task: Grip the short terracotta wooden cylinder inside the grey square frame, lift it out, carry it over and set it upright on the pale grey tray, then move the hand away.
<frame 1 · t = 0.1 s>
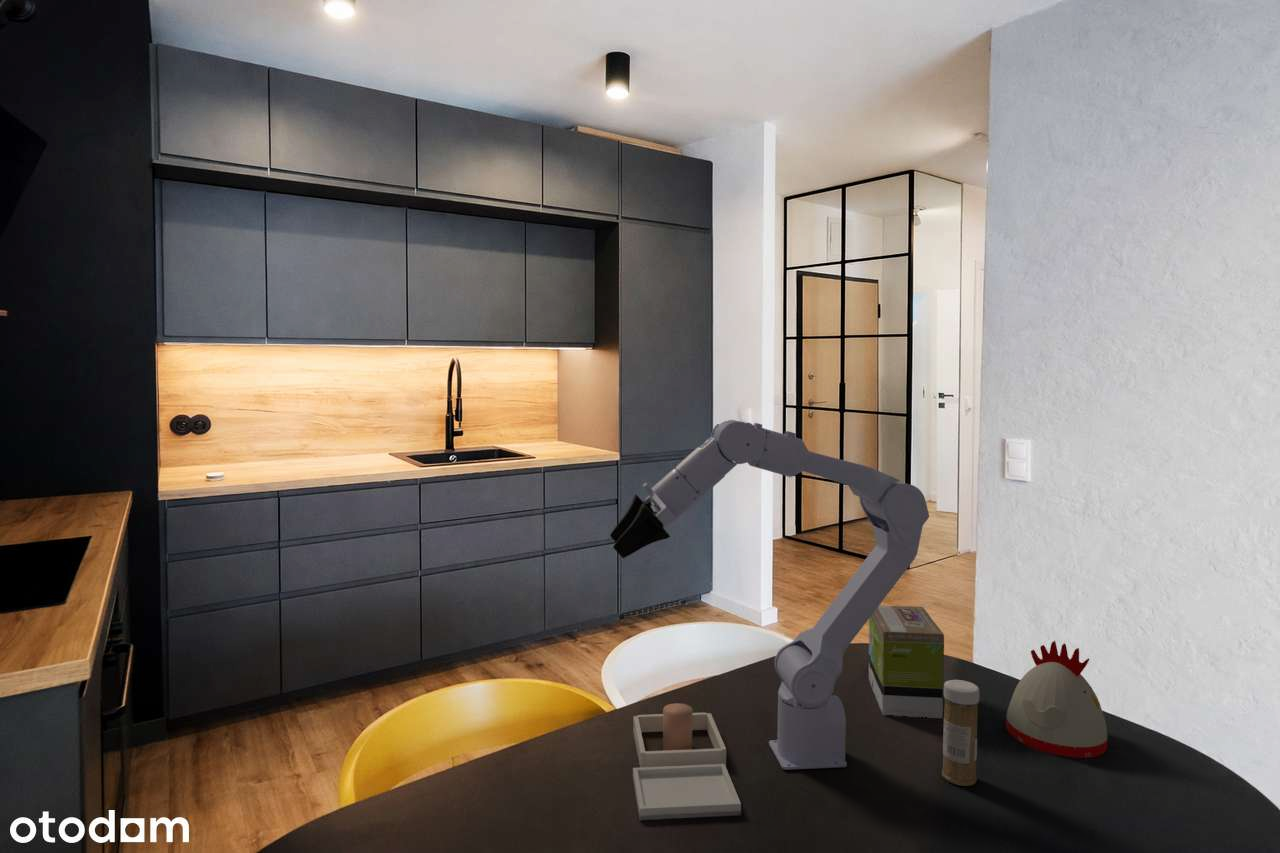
hand: (616, 546, 106), 32 cm above the table, tool tilted 50°, fingers open, 7 cm apart
grey square frame: (677, 748, 112), on the table
kitchen timer: (1055, 737, 117), on the table
terracotta cylinder: (677, 728, 112), in the grey square frame
sprinkles bottle: (958, 780, 104), on the table
tray: (684, 795, 99), on the table
tea box: (902, 700, 130), on the table
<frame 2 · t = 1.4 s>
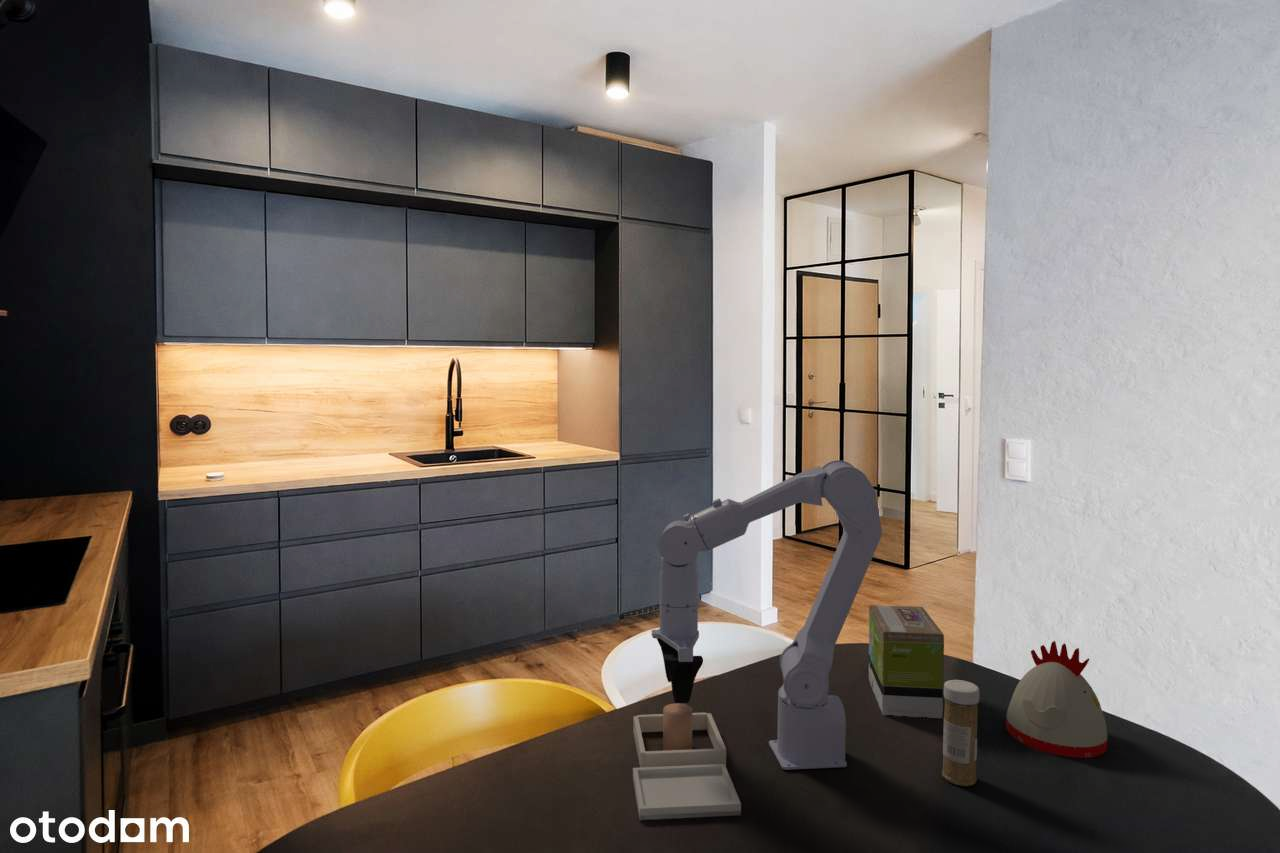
hand: (677, 691, 112), 9 cm above the table, tool pointing down, fingers open, 7 cm apart
nothing on the table moved.
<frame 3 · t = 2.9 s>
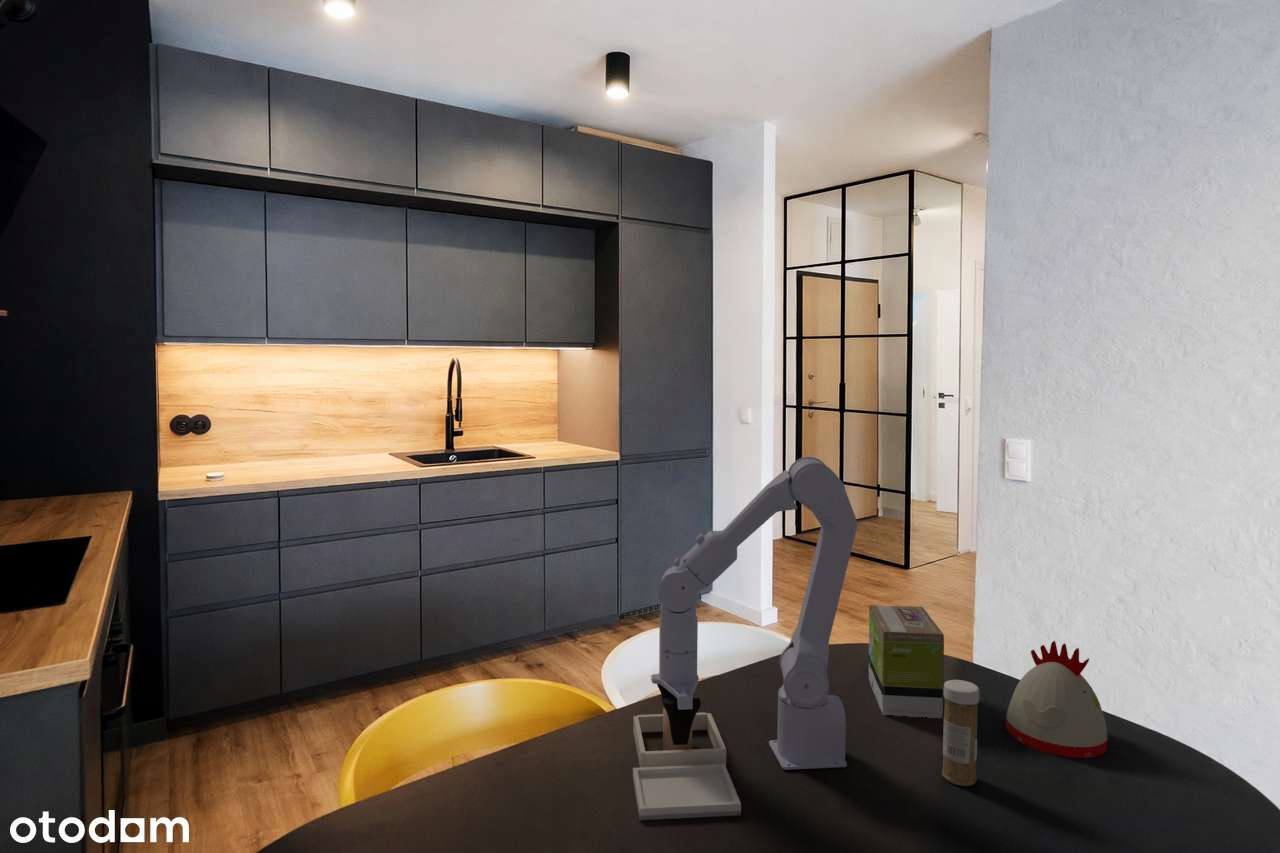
hand: (677, 735, 112), 2 cm above the table, tool pointing down, fingers closed on terracotta cylinder, 4 cm apart
terracotta cylinder: (677, 728, 112), in the grey square frame, touching gripper
everything else where it was.
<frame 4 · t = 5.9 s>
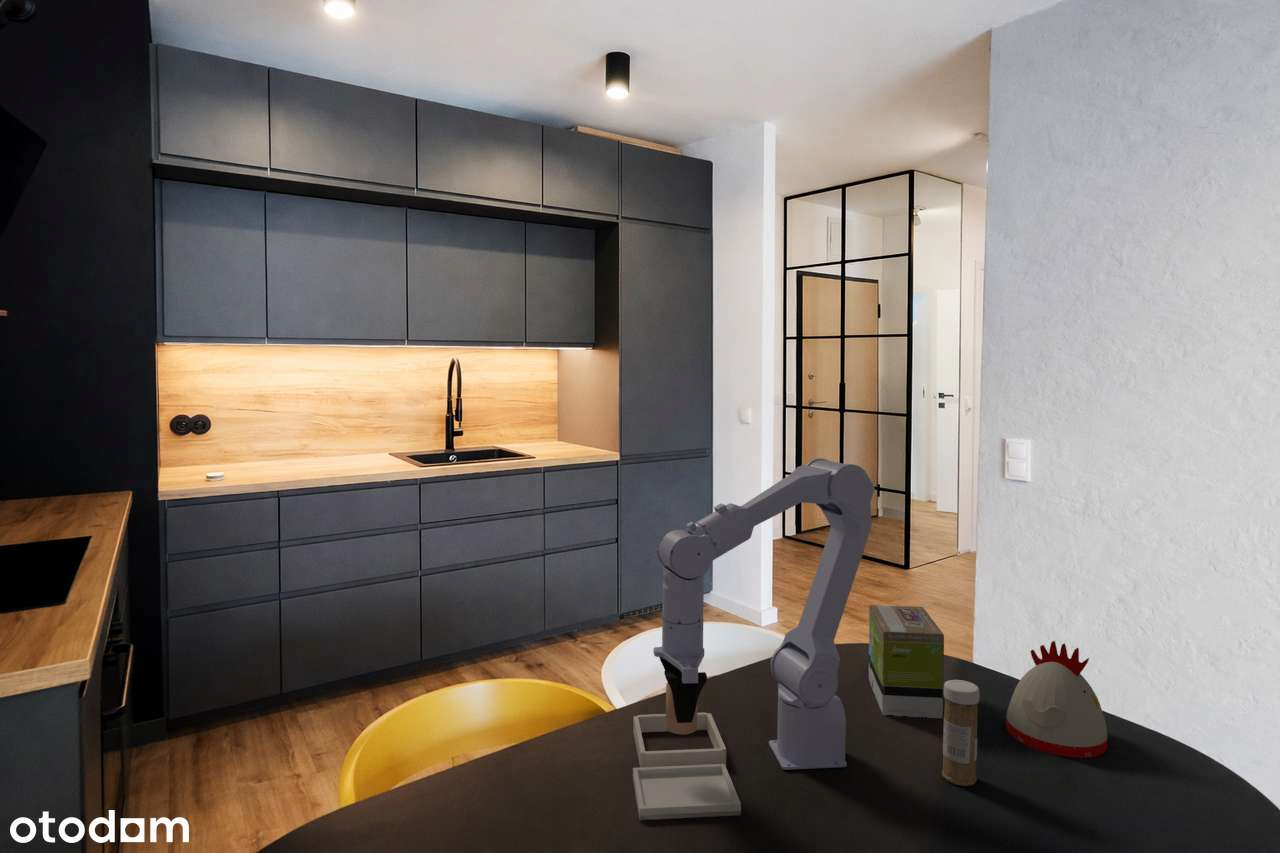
hand: (681, 713, 104), 9 cm above the table, tool pointing down, fingers closed on terracotta cylinder, 4 cm apart
terracotta cylinder: (681, 706, 104), point 10 cm above the table, touching gripper
everything else where it was.
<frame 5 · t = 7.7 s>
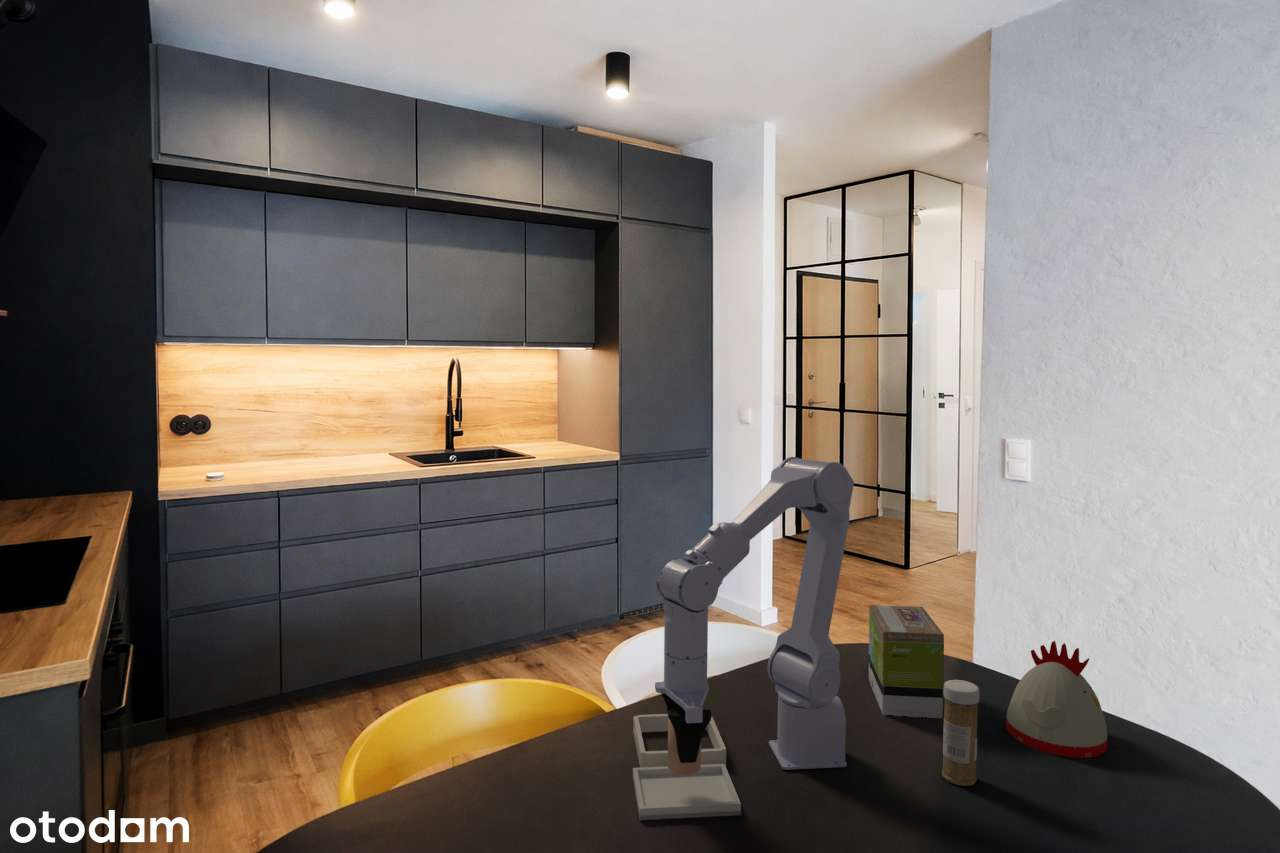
hand: (684, 751, 99), 6 cm above the table, tool pointing down, fingers closed on terracotta cylinder, 4 cm apart
terracotta cylinder: (684, 744, 99), point 7 cm above the table, touching gripper
everything else where it was.
when the fingers open (4 cm above the table, at t = 9.1 s): terracotta cylinder stays where it is, resting on tray.
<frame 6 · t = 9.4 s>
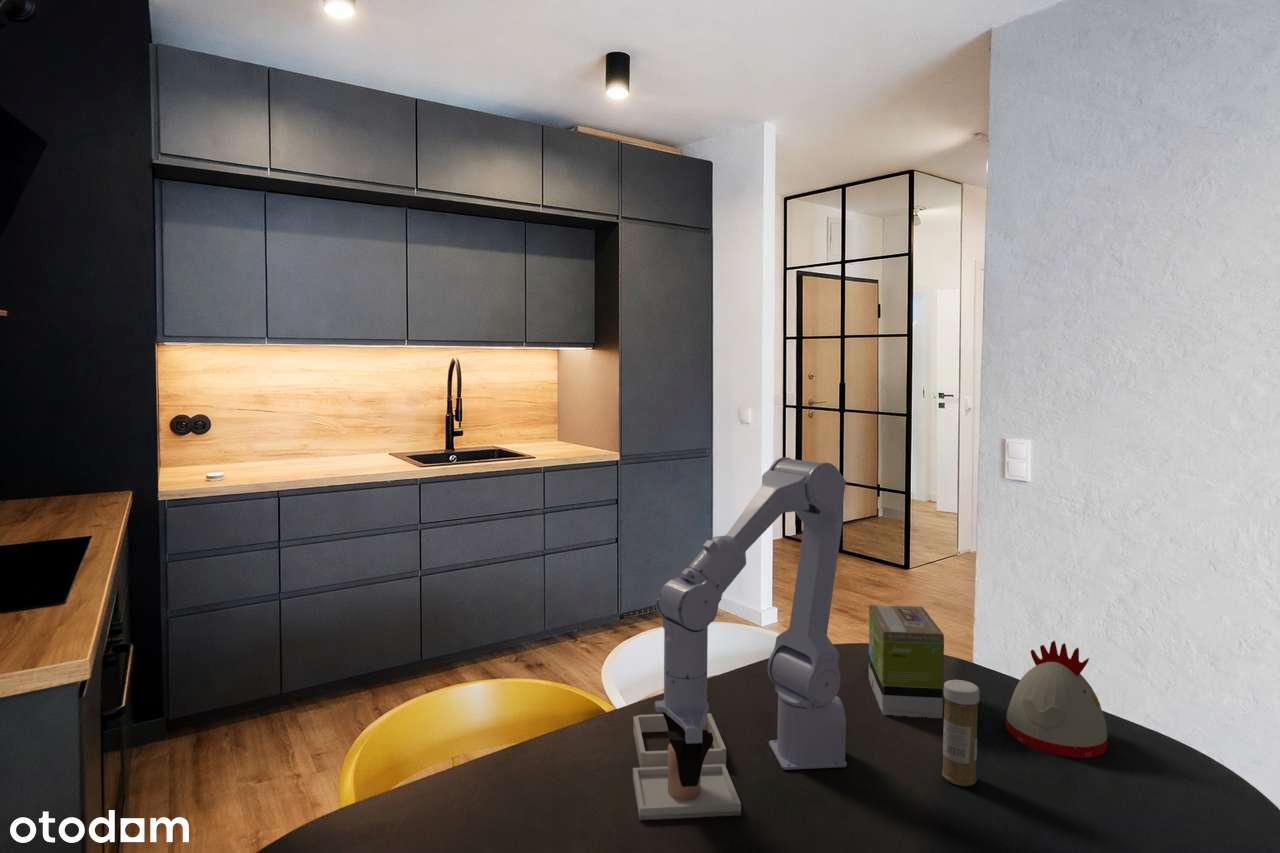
hand: (684, 770, 99), 4 cm above the table, tool pointing down, fingers open, 7 cm apart
terracotta cylinder: (684, 769, 99), point 4 cm above the table, touching tray
everything else where it was.
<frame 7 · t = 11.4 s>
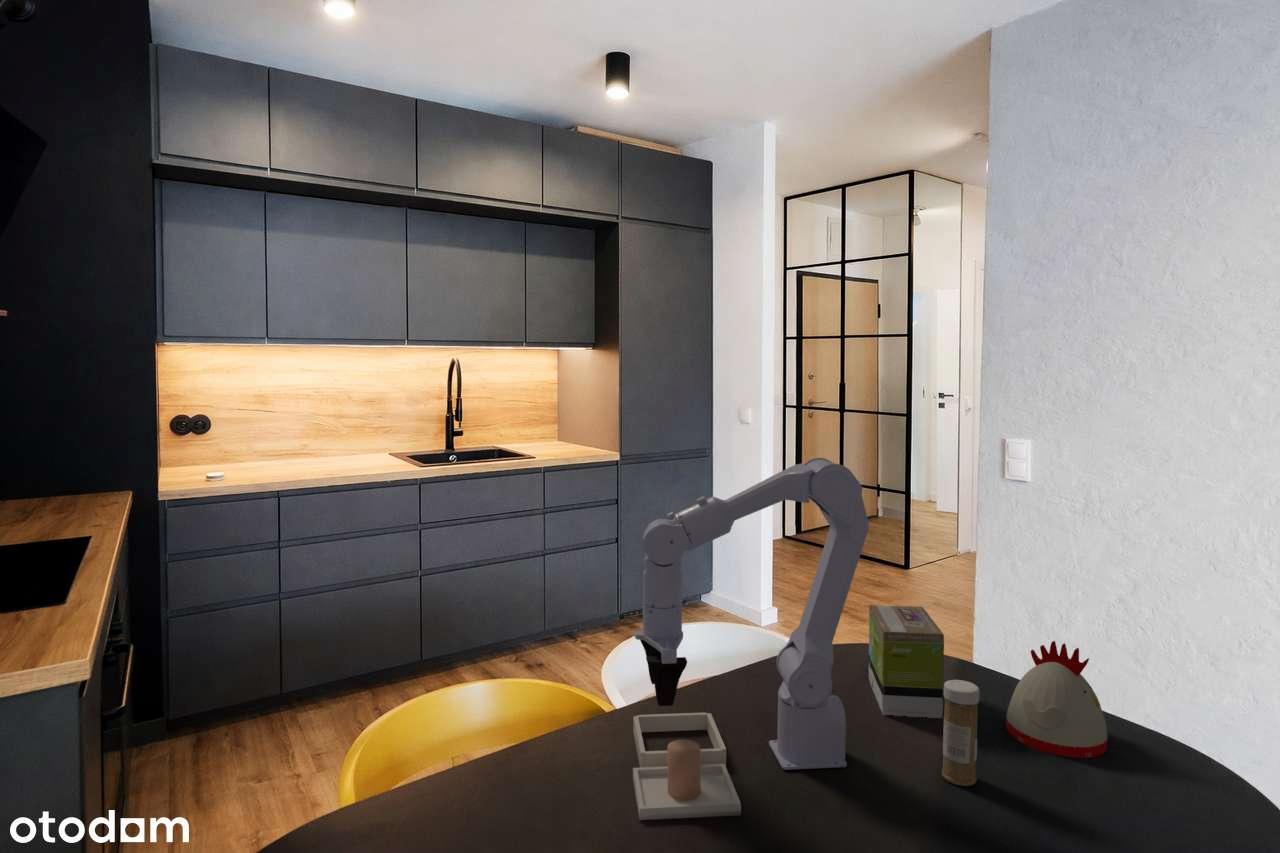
hand: (661, 693, 109), 9 cm above the table, tool pointing down, fingers open, 7 cm apart
nothing on the table moved.
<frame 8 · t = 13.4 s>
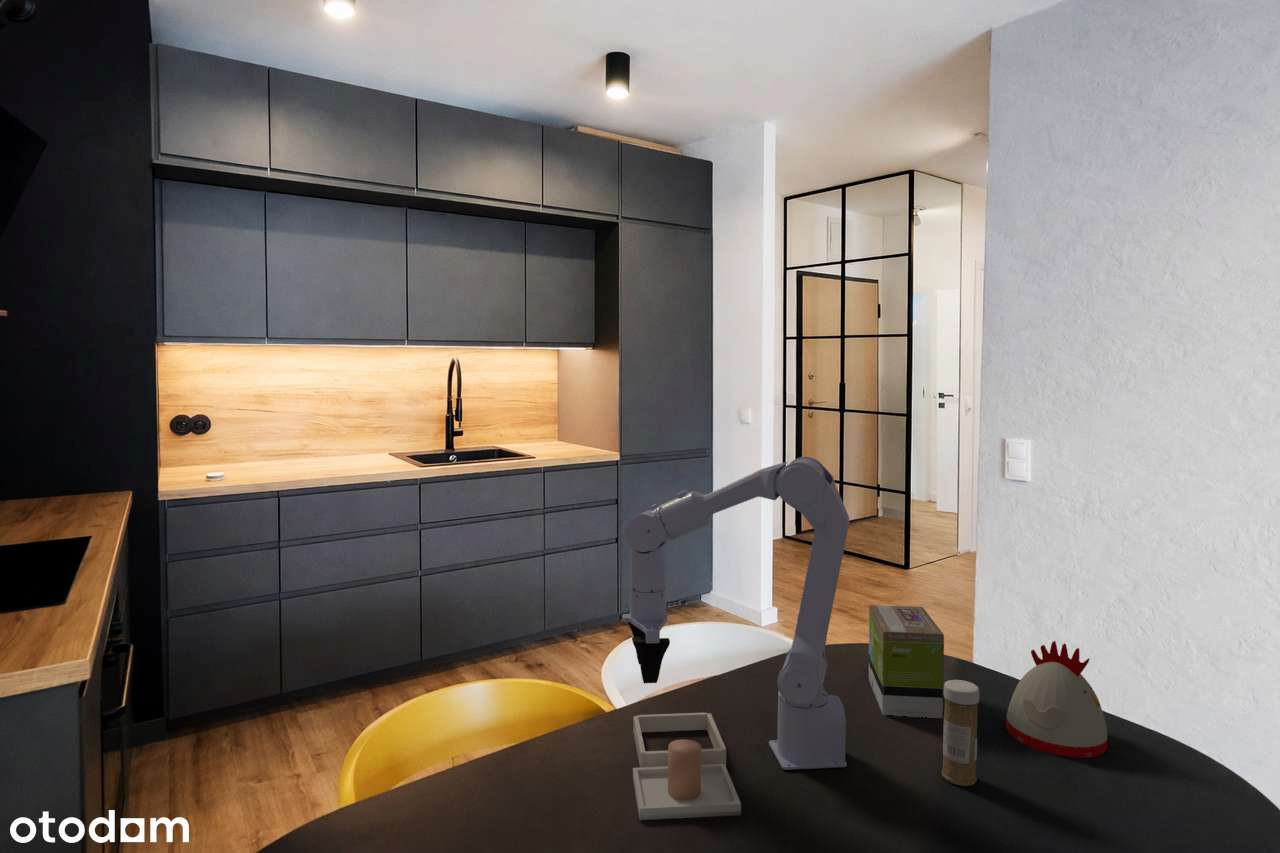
hand: (647, 672, 117), 9 cm above the table, tool pointing down, fingers open, 7 cm apart
nothing on the table moved.
at the end: terracotta cylinder 0.0 cm off-centre on the tray, point 3.7 cm above the tray's base; terracotta cylinder tilted 2°; the gripper is holding nothing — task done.
